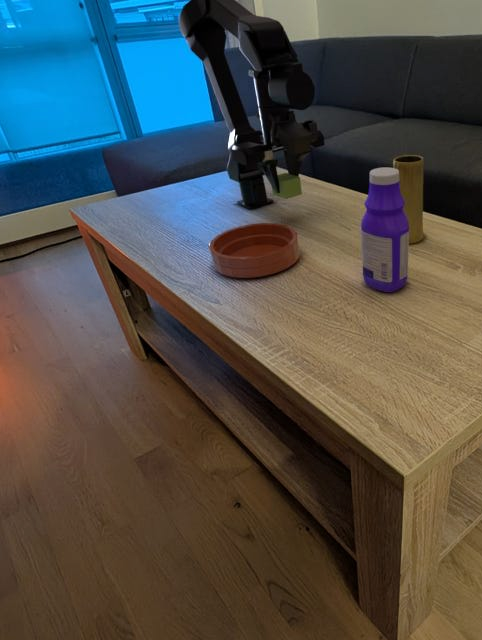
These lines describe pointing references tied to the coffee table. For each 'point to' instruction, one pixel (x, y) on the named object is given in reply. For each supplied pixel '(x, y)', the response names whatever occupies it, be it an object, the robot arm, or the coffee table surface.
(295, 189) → the sponge
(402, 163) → the vase
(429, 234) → the coffee table surface
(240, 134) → the robot arm
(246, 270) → the bowl
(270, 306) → the coffee table surface
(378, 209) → the bottle
